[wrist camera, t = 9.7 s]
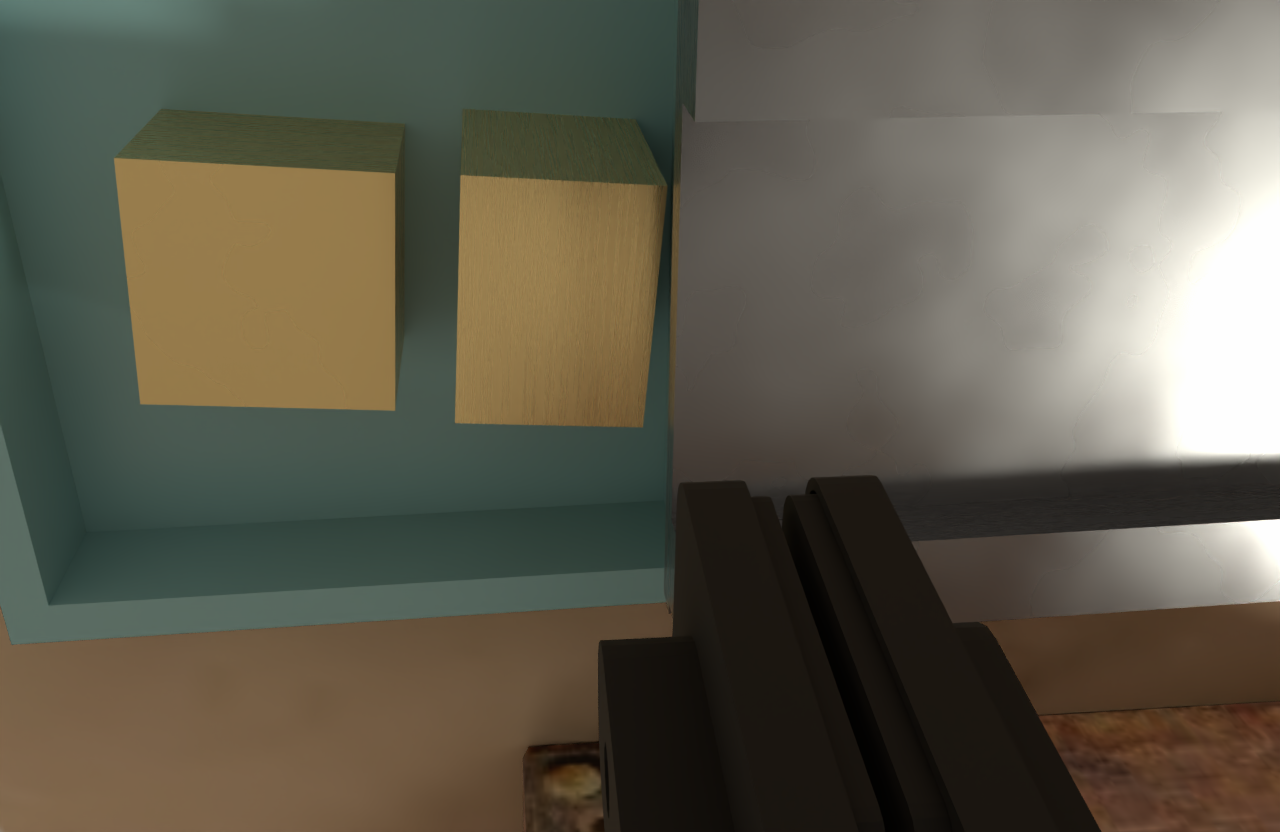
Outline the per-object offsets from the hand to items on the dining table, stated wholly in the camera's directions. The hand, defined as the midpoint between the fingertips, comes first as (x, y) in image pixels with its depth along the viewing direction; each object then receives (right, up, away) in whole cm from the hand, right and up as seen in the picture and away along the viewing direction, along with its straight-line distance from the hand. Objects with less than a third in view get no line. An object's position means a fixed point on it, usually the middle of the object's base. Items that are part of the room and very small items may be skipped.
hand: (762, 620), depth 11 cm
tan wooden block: (-1, +4, +10) cm, 11 cm away
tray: (-6, +6, +11) cm, 14 cm away
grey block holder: (+8, +6, +13) cm, 16 cm away
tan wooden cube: (-7, +4, +8) cm, 11 cm away
